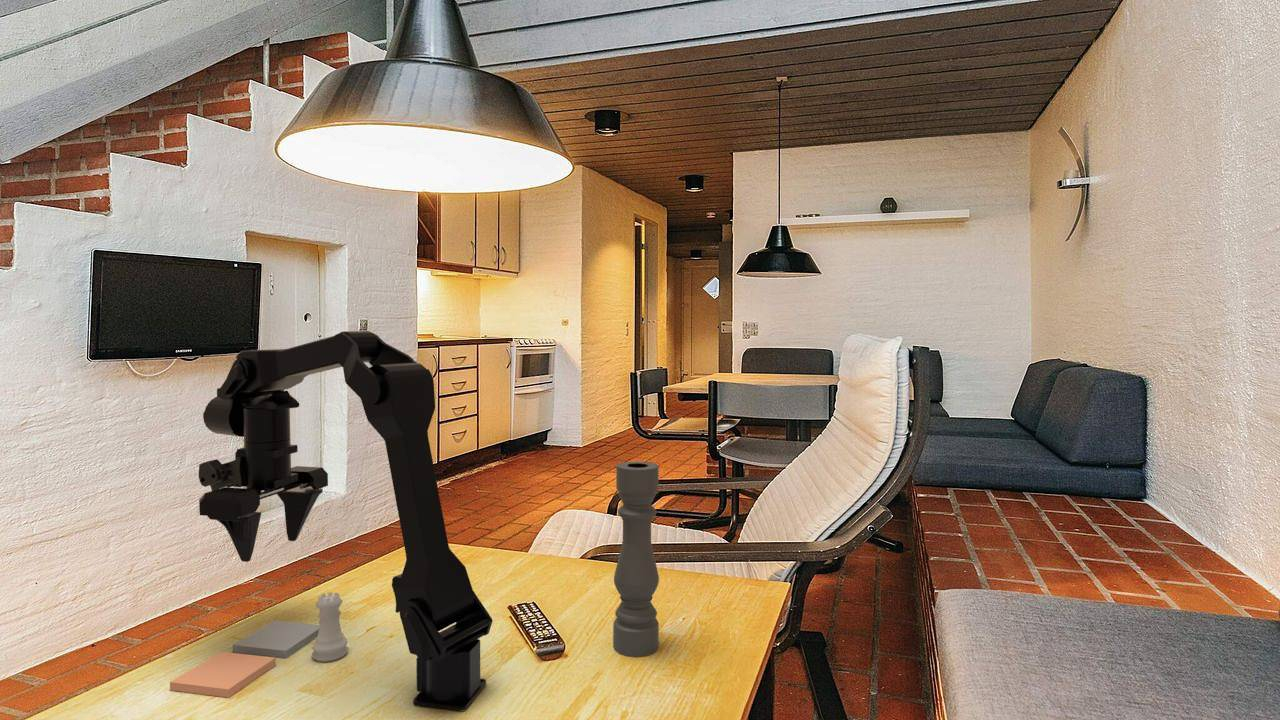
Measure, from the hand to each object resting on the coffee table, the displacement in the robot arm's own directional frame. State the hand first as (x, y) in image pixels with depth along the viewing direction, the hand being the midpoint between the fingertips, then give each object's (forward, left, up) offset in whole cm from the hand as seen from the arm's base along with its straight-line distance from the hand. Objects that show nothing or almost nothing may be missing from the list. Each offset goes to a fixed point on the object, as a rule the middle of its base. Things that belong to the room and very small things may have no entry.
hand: (270, 550), depth 100 cm
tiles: (-3, +7, -12) cm, 14 cm away
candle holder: (-51, -7, -12) cm, 53 cm away
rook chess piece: (-12, +4, -12) cm, 17 cm away
